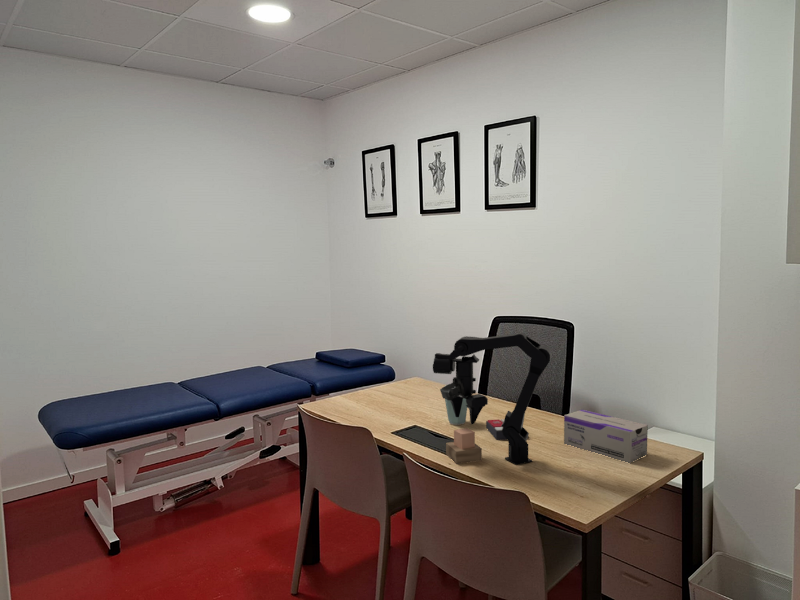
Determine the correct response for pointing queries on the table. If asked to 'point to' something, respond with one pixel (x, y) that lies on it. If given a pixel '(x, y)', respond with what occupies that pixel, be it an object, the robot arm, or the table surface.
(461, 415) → the disposable coffee cup
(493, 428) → the calculator
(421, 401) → the table surface
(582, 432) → the surgical sutures box
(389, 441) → the table surface
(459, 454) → the walnut block
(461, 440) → the terracotta cube
